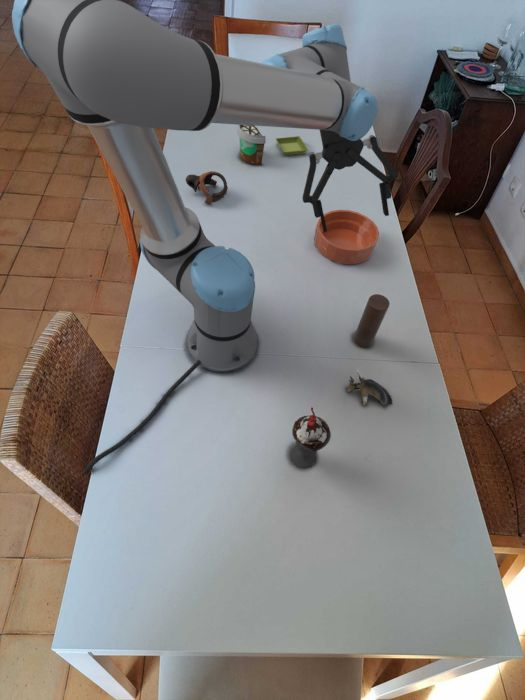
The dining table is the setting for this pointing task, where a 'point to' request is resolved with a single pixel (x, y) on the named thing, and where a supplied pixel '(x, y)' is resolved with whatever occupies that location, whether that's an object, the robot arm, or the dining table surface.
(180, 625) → the dining table surface
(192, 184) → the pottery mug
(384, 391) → the animal figurine
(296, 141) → the saucer
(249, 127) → the food container
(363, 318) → the pestle
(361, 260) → the bowl
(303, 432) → the sundae
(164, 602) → the dining table surface
